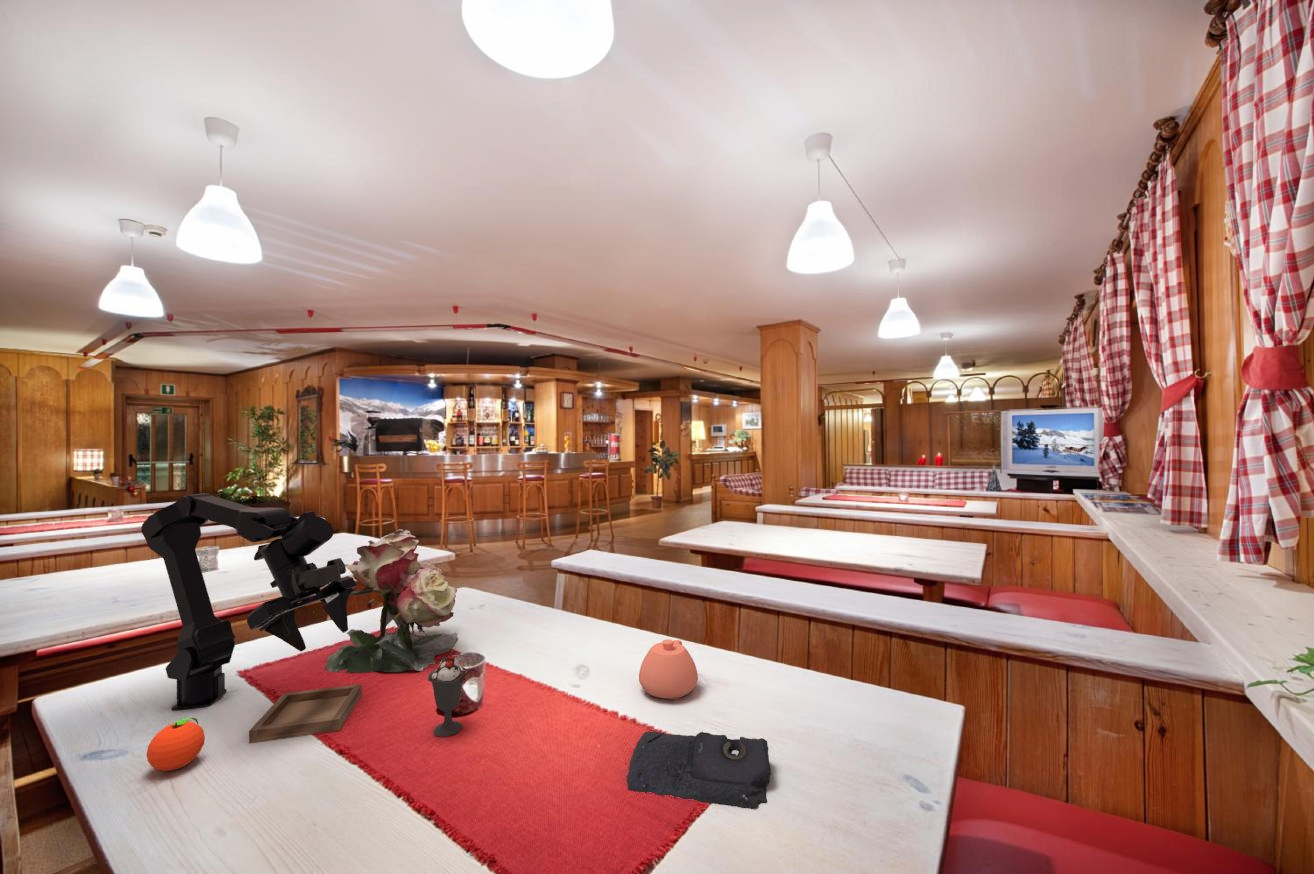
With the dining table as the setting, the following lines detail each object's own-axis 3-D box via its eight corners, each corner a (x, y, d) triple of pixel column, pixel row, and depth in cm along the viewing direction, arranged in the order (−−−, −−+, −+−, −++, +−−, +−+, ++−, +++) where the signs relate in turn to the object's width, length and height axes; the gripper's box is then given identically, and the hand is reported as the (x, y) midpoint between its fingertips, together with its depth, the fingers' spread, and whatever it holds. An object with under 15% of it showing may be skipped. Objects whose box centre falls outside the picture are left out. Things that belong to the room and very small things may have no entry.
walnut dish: (249, 742, 91) (249, 730, 91) (283, 703, 104) (283, 693, 104) (339, 730, 94) (339, 718, 94) (361, 694, 108) (361, 684, 108)
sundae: (454, 741, 90) (453, 655, 91) (420, 737, 92) (419, 652, 92) (475, 721, 97) (474, 640, 97) (442, 717, 98) (442, 638, 98)
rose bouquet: (441, 673, 117) (440, 540, 117) (312, 674, 117) (311, 541, 118) (481, 631, 143) (480, 522, 143) (375, 632, 143) (374, 522, 143)
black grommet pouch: (643, 736, 92) (643, 709, 92) (770, 751, 88) (770, 722, 88) (619, 794, 77) (619, 762, 77) (771, 815, 73) (770, 781, 73)
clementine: (175, 751, 88) (175, 709, 88) (220, 748, 89) (220, 707, 89) (133, 782, 80) (133, 736, 80) (183, 779, 81) (182, 733, 81)
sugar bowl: (629, 698, 105) (628, 647, 105) (655, 669, 118) (655, 624, 118) (686, 709, 101) (686, 656, 101) (707, 678, 114) (707, 631, 114)
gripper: (270, 558, 89) (310, 639, 87) (357, 537, 108) (392, 604, 105) (228, 589, 92) (266, 669, 90) (320, 564, 110) (354, 630, 108)
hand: (325, 640), depth 98 cm, fingers open, 9 cm apart
